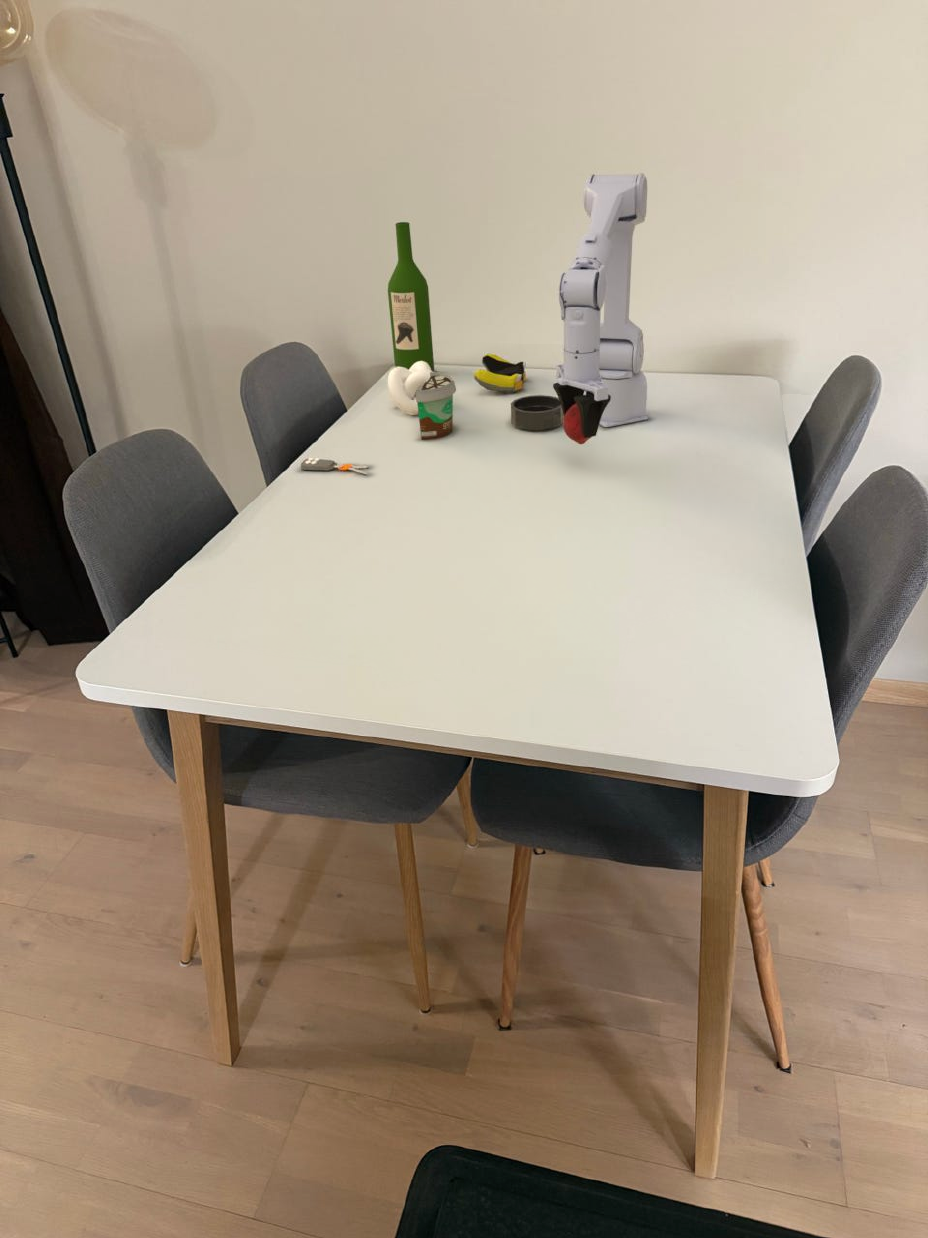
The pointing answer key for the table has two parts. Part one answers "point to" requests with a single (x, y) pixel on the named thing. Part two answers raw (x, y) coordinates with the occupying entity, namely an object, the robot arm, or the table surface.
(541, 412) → the bowl
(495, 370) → the banana bunch
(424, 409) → the food container
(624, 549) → the table surface
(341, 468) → the key chain
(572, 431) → the onion
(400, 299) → the wine bottle
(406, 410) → the white knotted piece
